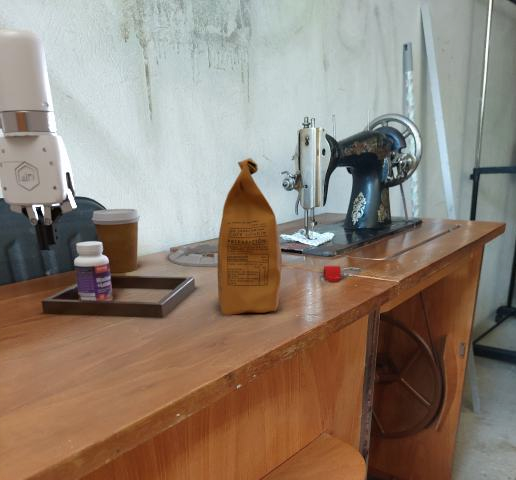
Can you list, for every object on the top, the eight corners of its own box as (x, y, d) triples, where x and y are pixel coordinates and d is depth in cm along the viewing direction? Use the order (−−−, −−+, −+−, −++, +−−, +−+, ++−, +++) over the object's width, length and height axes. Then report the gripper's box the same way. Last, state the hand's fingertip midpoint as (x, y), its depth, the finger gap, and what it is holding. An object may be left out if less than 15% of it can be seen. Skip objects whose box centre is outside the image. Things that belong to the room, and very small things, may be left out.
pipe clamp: (322, 272, 103) (322, 261, 102) (336, 272, 103) (337, 261, 102) (326, 282, 95) (326, 270, 95) (341, 282, 95) (342, 270, 94)
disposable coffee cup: (88, 271, 108) (80, 212, 104) (124, 263, 115) (117, 207, 111) (119, 276, 103) (112, 214, 98) (154, 267, 110) (149, 209, 106)
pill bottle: (104, 307, 83) (96, 246, 79) (73, 306, 84) (64, 245, 80) (118, 298, 88) (112, 240, 84) (89, 297, 89) (81, 240, 85)
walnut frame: (43, 316, 79) (41, 300, 78) (95, 288, 94) (93, 274, 94) (162, 320, 76) (161, 304, 75) (195, 290, 91) (194, 277, 90)
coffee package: (282, 295, 87) (281, 157, 79) (281, 318, 76) (280, 158, 68) (223, 296, 88) (217, 158, 80) (214, 318, 76) (205, 160, 68)
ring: (203, 270, 106) (203, 261, 106) (153, 258, 120) (152, 249, 119) (271, 256, 119) (271, 248, 118) (219, 246, 132) (218, 238, 131)
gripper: (-33, 127, 75) (-7, 253, 82) (62, 123, 73) (81, 253, 79) (0, 128, 82) (21, 244, 89) (87, 125, 80) (103, 245, 86)
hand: (50, 248), depth 84 cm, fingers closed
